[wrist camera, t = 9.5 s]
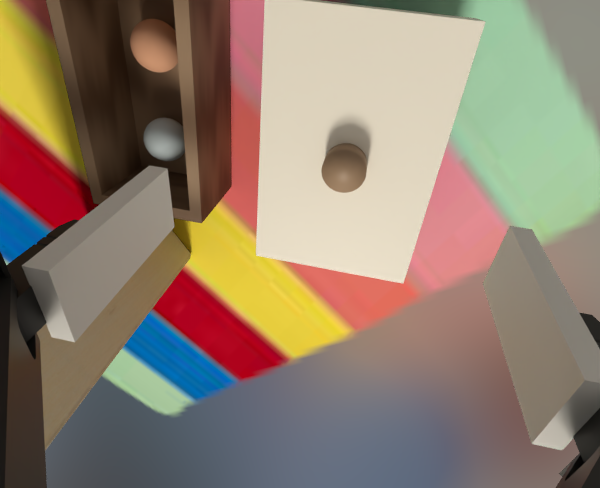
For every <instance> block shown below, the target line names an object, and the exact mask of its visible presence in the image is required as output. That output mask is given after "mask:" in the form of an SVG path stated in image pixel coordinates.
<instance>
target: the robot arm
mask: <svg viewBox="0 0 600 488" xmlns="http://www.w3.org/2000/svg"><path fill="white" fill-rule="evenodd" d="M173 228H174V219H173V210H172V202H171V193H170V185H169V177H168V169H167V168H161V167H155V166H148V167H147V168H146V169H144V170H143V171H142V172H140V173H139V174H138V175H137V176H135V177H134V178H133V179H132V180H130V181H129V182H128V183H126V184H125V185H124V186H123V187H121V188H120V189H119V190H118V191H116V192H115V193H114V194H112V195H111V196H110V197H109V198H107V199H106V200H105V201H104V202H102V203H101V204H100V205H98V206H97V207H96V208H95V209H93V210H92V211H91V212H90V213H88V214H87V215H86V216H84V217H83V218H82V219H81V220H72V221H70V222H67V223H65V224H63V225H60V226H58V227H57V228H56V229H54V230H53V231H52V232H50V233H49V234H48V235H47V237H44V238H42V239H41V240H40V241H38V242H37V244H36V245H35V244H34V245H33V246H32V247H30V248H29V249H28V250H26V251H25V252H24V253H22V254H21V255H20V256H18V257H17V258H16V259H14V260H13V261H12V262H10V263H9V264H8V265H6V263H5V261H4V259H3V257H2V254H1V252H0V488H47V484H46V462H45V440H44V418H43V396H42V374H41V352H40V339H39V337H38V335H37V332H38V331H39V330H40V329H41V328H42V327H43V326H44V325H45V324H46V325H47V327H48V330H49V332H50V335H51V337H53V338H58V339H62V340H67V341H71V342H76V341H77V339H78V338H79V337H80V336H81V335H82V334H83V333H84V331H85V330H86V329H87V328H88V327H89V326H90V324H91V323H92V322H93V321H94V320H95V319H96V317H97V316H98V315H99V314H100V313H101V312H102V310H103V309H104V308H105V307H106V306H107V305H108V303H109V302H110V301H111V300H112V299H113V298H114V296H115V295H116V294H117V293H118V292H119V291H120V290H121V288H122V287H123V286H124V285H125V284H126V283H127V281H128V280H129V279H130V278H131V277H132V276H133V274H134V273H135V272H136V271H137V270H138V269H139V267H140V266H141V265H142V264H143V263H144V262H145V260H146V259H147V258H148V257H149V256H150V255H151V253H152V252H153V251H154V250H155V249H156V248H157V247H158V245H159V244H160V243H161V242H162V241H163V240H164V238H165V237H166V236H167V235H168V234H169V233H170V231H171V230H172V229H173ZM483 286H484V290H485V293H486V296H487V299H488V303H489V306H490V309H491V312H492V316H493V319H494V322H495V325H496V328H497V332H498V335H499V339H500V342H501V345H502V348H503V352H504V355H505V358H506V361H507V365H508V368H509V371H510V375H511V378H512V381H513V384H514V388H515V390H516V394H517V397H518V401H519V404H520V407H521V410H522V414H523V417H524V420H525V423H526V427H527V430H528V433H529V436H530V440H531V443H532V444H535V445H540V446H544V447H549V448H554V449H558V450H563V449H564V448H565V447H566V446H567V445H568V444H569V442H570V441H571V440H572V439H573V438H574V440H575V442H576V445H577V447H578V450H579V452H580V453H579V454H578V455H577V456H576V457H575V459H573V460H572V462H570V463H569V464H568V465H567V466H566V467H565V468H564V469H563V470H562V472H560V473H559V474H560V475H561V476H562V479H561V480H560V482H559V483H558V485H557V487H556V488H600V322H599V321H598V320H597V319H596V318H595V317H593V316H592V315H589V314H584V313H579V312H578V310H577V308H576V306H575V305H574V303H573V301H572V299H571V298H570V296H569V294H568V293H567V290H566V289H565V287H564V285H563V283H562V282H561V280H560V278H559V276H558V275H557V273H556V271H555V269H554V268H553V266H552V264H551V262H550V260H549V259H548V257H547V255H546V253H545V252H544V250H543V248H542V246H541V245H540V243H539V241H538V239H537V238H536V236H535V234H534V232H533V230H532V229H526V228H520V227H514V226H510V227H509V229H508V231H507V233H506V235H505V237H504V239H503V241H502V244H501V246H500V248H499V250H498V252H497V254H496V256H495V258H494V260H493V262H492V265H491V267H490V269H489V271H488V273H487V275H486V277H485V279H484V281H483Z"/></svg>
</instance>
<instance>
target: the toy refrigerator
mask: <svg viewBox="0 0 600 488" xmlns="http://www.w3.org/2000/svg"><path fill="white" fill-rule="evenodd" d="M190 256H191V254H190V252H189V251H188V250H187V248H186V247H185V246H184V245H183V243H182V242H181V241H180V240H179V238H178V237H177V236H176V235H175V233H174V232H173V231H172V230H171V231H170V233H169V234H168V235H167V236H166V237H165V238H164V240H163V241H162V242H161V243H160V244H159V245H158V247H157V248H156V249H155V250H154V251H153V252H152V253H151V255H150V256H149V257H148V258H147V259H146V260H145V262H144V263H143V264H142V265H141V266H140V267H139V269H138V270H137V271H136V272H135V273H134V274H133V276H132V277H131V278H130V279H129V280H128V281H127V283H126V284H125V285H124V286H123V287H122V288H121V290H120V291H119V292H118V293H117V294H116V295H115V296H114V298H113V299H112V300H111V301H110V302H109V303H108V305H107V306H106V307H105V308H104V309H103V310H102V312H101V313H100V314H99V315H98V316H97V317H96V319H95V320H94V321H93V322H92V323H91V324H90V326H89V327H88V328H87V329H86V330H85V331H84V333H83V334H82V335H81V336H80V337H79V338H78V339H77V341H76V342H71V341H67V340H62V339H58V338H53V337H51V335H50V332H49V330H48V327H47V325H46V324H45V325H44V326H43V327H42V328H41V329H40V330H39V331H38V332H37V335H38V337H39V339H40V352H41V374H42V396H43V418H44V440H45V450H46V449H47V447H48V446H49V445H50V443H51V442H52V440H53V439H54V438H55V437H56V435H57V434H58V433H59V431H60V430H61V429H62V427H63V426H64V425H65V423H66V422H67V421H68V419H69V418H70V417H71V415H72V414H73V413H74V411H75V410H76V408H77V407H78V406H79V405H80V403H81V402H82V401H83V399H84V398H85V397H86V395H87V394H88V393H89V391H90V390H91V389H92V387H93V386H94V384H95V383H96V382H97V381H98V379H99V378H100V377H101V375H102V374H103V373H104V371H105V370H106V369H107V367H108V366H109V365H110V363H111V362H112V361H113V359H114V358H115V357H116V355H117V354H118V353H119V351H120V350H121V349H122V348H123V346H124V345H125V344H126V342H127V341H128V340H129V338H130V337H131V336H132V334H133V333H134V332H135V330H136V329H137V328H138V326H139V325H140V324H141V322H142V321H143V320H144V319H145V317H146V316H147V314H148V313H149V312H150V311H151V309H152V308H153V307H154V305H155V304H156V303H157V301H158V300H159V299H160V297H161V296H162V295H163V293H164V292H165V291H166V289H167V288H168V287H169V286H170V284H171V283H172V282H173V280H174V279H175V278H176V276H177V275H178V274H179V272H180V271H181V270H182V268H183V267H184V266H185V264H186V263H187V262H188V260H189V259H190Z"/></svg>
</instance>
